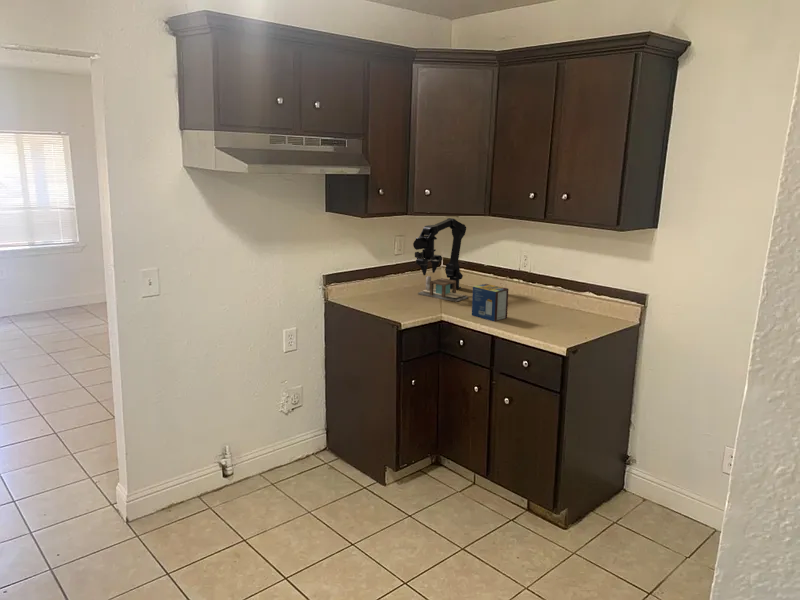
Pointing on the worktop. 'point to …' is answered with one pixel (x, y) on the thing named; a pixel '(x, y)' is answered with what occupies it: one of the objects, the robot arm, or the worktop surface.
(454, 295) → the sled
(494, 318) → the protein box
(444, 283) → the tunnel
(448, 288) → the teal block
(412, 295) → the worktop surface
